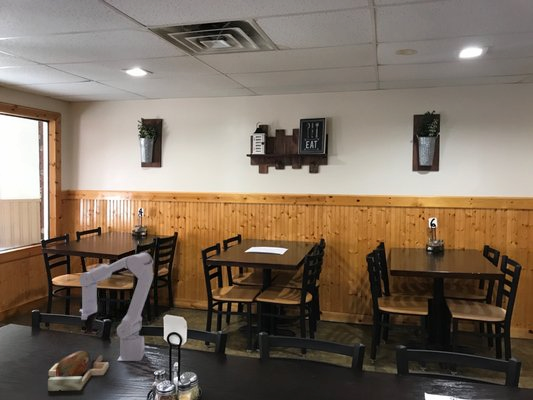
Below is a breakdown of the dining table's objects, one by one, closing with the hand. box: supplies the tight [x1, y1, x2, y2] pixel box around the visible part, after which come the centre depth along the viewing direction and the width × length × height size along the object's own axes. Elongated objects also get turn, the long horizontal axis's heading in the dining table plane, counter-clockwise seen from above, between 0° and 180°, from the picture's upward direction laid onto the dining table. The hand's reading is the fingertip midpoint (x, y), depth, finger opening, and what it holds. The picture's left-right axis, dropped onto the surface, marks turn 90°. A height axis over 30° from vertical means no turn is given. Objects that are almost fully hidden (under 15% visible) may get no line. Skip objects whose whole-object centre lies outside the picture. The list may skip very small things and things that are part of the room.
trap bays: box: [48, 361, 110, 377], centre depth 166 cm, size 20×7×2 cm, turn 94°
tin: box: [55, 350, 91, 377], centre depth 162 cm, size 15×3×8 cm, turn 161°
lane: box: [47, 354, 103, 392], centre depth 164 cm, size 11×26×4 cm, turn 4°
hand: (89, 331), depth 184 cm, fingers closed
